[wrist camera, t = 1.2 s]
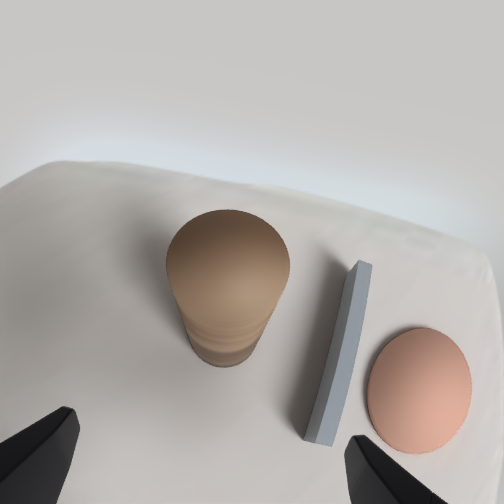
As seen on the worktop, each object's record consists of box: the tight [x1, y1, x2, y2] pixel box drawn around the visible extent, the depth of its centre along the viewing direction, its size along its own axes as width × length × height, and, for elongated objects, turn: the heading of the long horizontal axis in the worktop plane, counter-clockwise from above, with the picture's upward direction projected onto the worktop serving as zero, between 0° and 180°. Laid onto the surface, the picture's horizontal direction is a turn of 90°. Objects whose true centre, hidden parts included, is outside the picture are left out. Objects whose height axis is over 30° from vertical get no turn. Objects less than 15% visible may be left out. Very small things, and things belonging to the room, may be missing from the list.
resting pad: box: [367, 328, 472, 454], centre depth 22 cm, size 11×11×1 cm
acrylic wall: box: [303, 260, 372, 447], centre depth 22 cm, size 14×1×3 cm, turn 162°
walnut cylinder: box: [166, 210, 290, 368], centre depth 18 cm, size 5×5×12 cm
